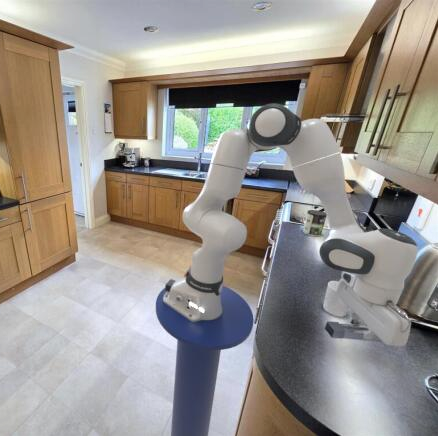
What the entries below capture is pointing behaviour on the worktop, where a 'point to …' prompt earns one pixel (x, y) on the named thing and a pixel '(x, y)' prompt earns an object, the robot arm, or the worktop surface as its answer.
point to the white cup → (334, 301)
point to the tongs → (347, 331)
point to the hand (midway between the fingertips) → (359, 330)
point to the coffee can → (314, 222)
